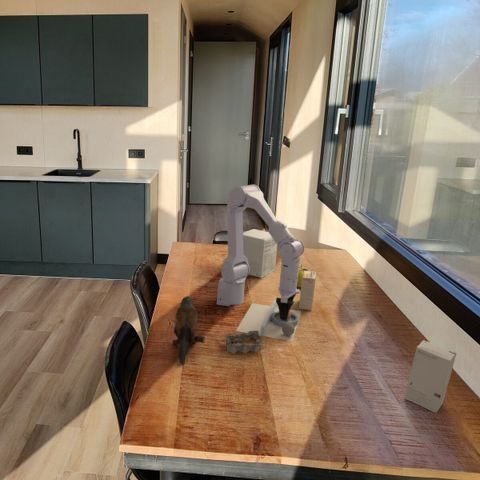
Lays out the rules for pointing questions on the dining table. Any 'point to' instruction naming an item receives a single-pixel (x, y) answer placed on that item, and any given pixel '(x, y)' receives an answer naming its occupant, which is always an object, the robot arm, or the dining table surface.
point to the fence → (268, 318)
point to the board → (257, 317)
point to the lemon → (300, 276)
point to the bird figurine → (186, 328)
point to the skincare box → (429, 375)
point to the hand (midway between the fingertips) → (285, 314)
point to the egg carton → (241, 347)
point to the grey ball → (288, 329)
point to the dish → (280, 322)
